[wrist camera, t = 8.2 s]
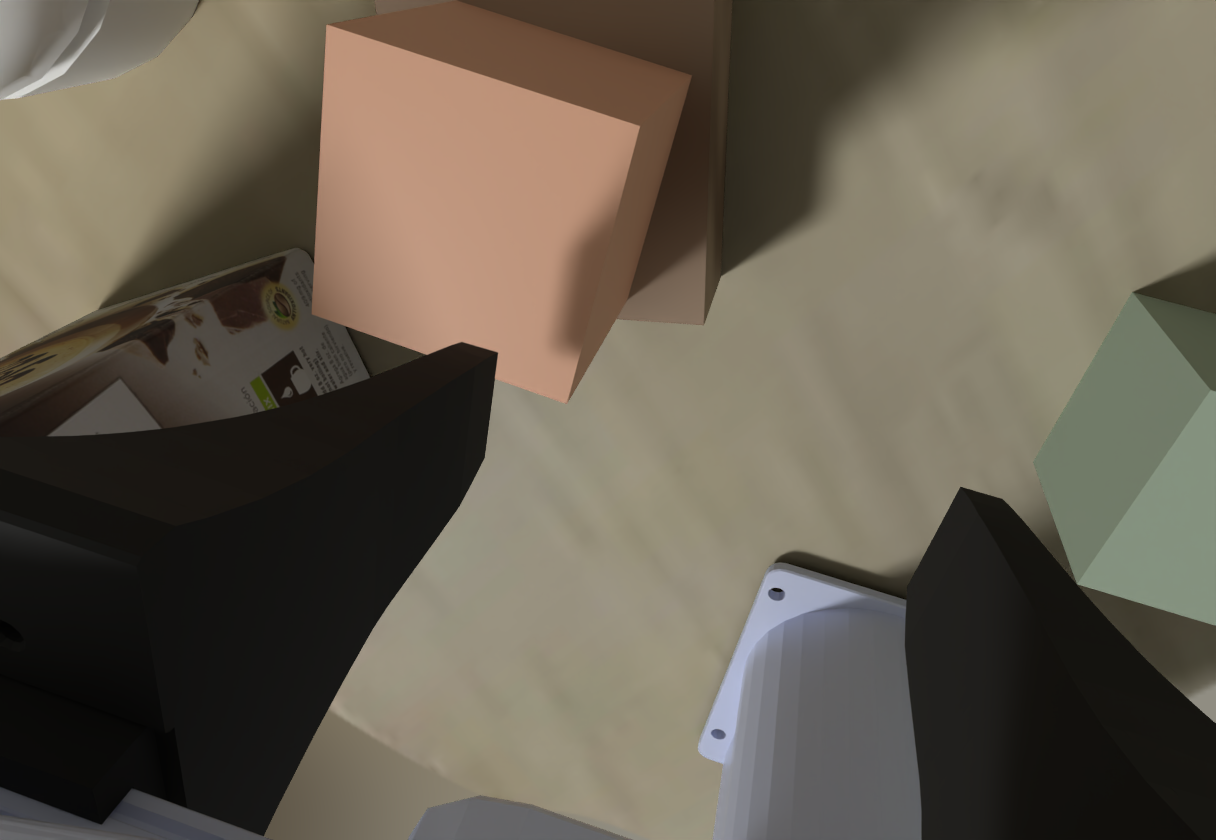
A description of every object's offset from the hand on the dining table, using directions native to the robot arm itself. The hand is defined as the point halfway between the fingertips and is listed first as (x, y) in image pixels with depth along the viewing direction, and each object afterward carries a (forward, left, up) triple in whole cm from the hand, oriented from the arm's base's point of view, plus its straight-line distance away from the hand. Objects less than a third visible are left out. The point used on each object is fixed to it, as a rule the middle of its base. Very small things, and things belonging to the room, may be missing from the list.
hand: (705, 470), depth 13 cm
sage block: (-1, -11, -10) cm, 15 cm away
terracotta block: (+2, +5, -7) cm, 9 cm away
